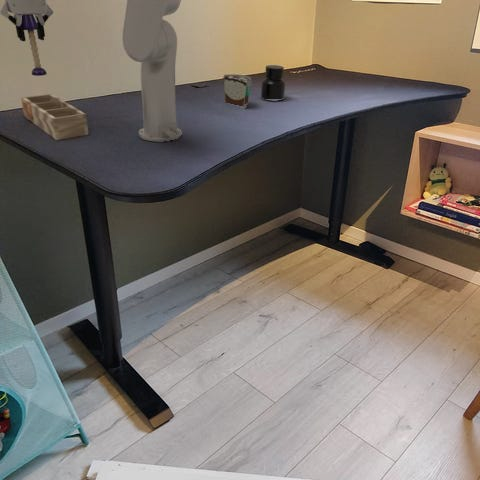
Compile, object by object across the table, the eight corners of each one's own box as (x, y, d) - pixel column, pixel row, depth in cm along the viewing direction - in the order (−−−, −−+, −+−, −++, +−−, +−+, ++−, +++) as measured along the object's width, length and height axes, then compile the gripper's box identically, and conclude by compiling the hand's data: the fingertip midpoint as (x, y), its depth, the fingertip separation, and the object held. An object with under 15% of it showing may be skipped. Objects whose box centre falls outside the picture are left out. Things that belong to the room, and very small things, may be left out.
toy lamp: (36, 76, 139) (25, 14, 130) (26, 74, 141) (15, 13, 132) (49, 74, 143) (40, 13, 134) (39, 72, 145) (29, 12, 136)
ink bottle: (288, 99, 183) (291, 67, 177) (276, 103, 177) (279, 70, 171) (268, 94, 188) (270, 63, 182) (255, 98, 182) (257, 66, 176)
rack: (88, 134, 137) (86, 114, 134) (54, 140, 132) (51, 119, 129) (54, 112, 154) (51, 93, 151) (23, 116, 149) (19, 97, 146)
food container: (257, 106, 172) (259, 78, 167) (246, 109, 168) (247, 81, 163) (233, 99, 179) (234, 72, 174) (222, 102, 175) (222, 74, 170)
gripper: (-10, -33, 120) (5, 43, 130) (55, -31, 130) (65, 40, 139) (-18, -34, 125) (-3, 39, 134) (46, -32, 135) (56, 36, 144)
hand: (32, 39), depth 137 cm, fingers closed on toy lamp, 4 cm apart
